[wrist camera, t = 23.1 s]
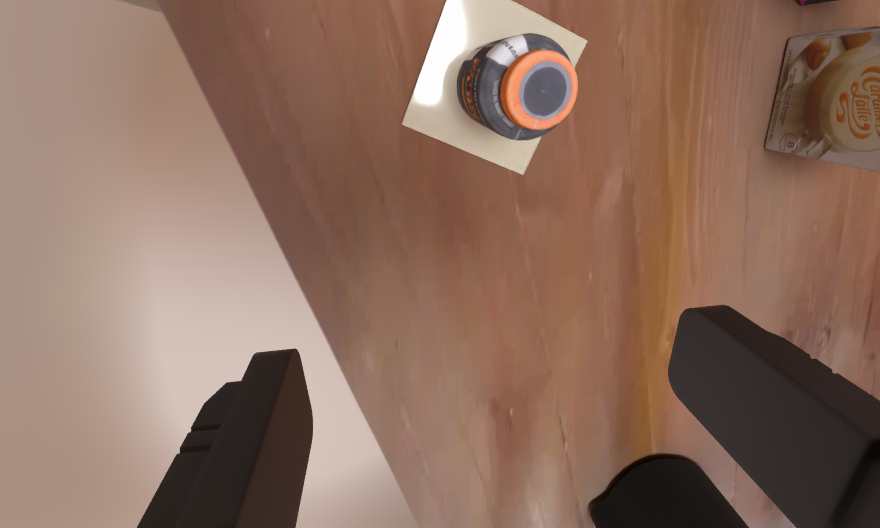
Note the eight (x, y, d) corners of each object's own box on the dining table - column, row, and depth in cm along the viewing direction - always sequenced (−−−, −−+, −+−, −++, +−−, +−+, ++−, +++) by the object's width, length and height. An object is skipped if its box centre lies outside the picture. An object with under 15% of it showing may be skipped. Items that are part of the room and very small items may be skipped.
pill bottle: (447, 55, 31) (477, 45, 21) (523, 31, 31) (591, 10, 21) (465, 135, 34) (502, 161, 24) (536, 113, 34) (603, 130, 24)
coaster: (401, 124, 33) (401, 124, 33) (456, -28, 30) (457, -30, 29) (521, 174, 36) (523, 175, 36) (585, 41, 33) (587, 40, 32)
